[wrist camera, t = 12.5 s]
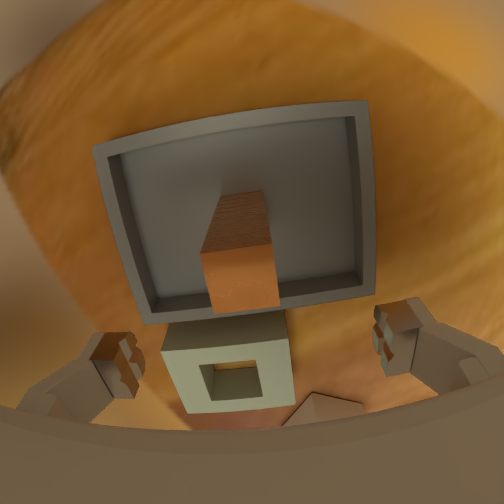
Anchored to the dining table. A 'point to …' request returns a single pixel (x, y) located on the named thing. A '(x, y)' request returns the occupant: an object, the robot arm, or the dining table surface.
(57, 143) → the dining table surface
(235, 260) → the pin
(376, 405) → the dining table surface
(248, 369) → the socket block
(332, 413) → the medicine bottle
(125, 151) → the tray
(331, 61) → the dining table surface
